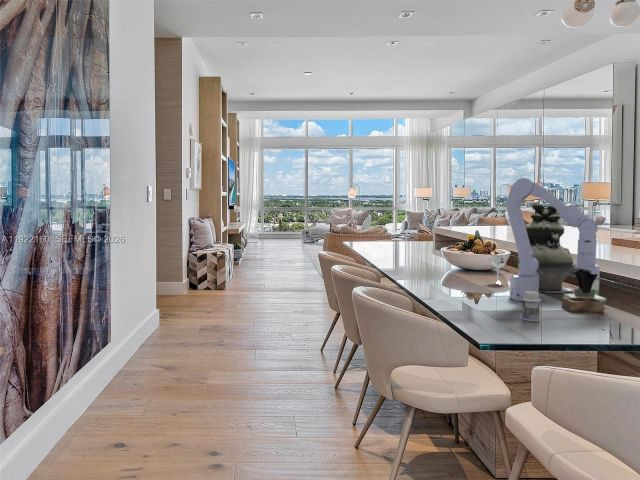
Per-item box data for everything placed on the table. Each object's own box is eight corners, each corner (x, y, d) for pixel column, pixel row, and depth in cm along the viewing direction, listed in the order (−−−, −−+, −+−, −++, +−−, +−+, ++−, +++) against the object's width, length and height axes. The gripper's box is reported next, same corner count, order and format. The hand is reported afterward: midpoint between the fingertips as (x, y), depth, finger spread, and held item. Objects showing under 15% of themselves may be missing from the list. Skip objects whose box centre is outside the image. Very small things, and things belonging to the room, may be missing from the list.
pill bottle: (525, 317, 153) (526, 290, 153) (541, 319, 151) (542, 292, 150) (520, 320, 150) (521, 292, 149) (536, 322, 147) (537, 294, 146)
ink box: (599, 297, 190) (600, 266, 189) (584, 296, 192) (585, 265, 191) (594, 293, 198) (595, 263, 197) (580, 292, 200) (581, 263, 199)
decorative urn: (528, 285, 221) (529, 205, 219) (579, 290, 206) (581, 204, 204) (507, 289, 205) (508, 204, 204) (561, 295, 191) (563, 203, 189)
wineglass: (486, 281, 225) (487, 255, 224) (499, 281, 227) (500, 255, 226) (496, 284, 219) (497, 256, 218) (509, 283, 221) (510, 256, 220)
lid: (573, 300, 171) (574, 290, 171) (563, 295, 179) (563, 286, 179) (606, 301, 170) (606, 291, 170) (594, 296, 179) (594, 287, 178)
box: (571, 312, 162) (571, 301, 162) (561, 307, 170) (561, 297, 169) (603, 312, 161) (604, 302, 161) (592, 307, 169) (592, 297, 169)
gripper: (609, 255, 166) (607, 296, 167) (589, 251, 181) (587, 288, 181) (586, 255, 167) (585, 295, 168) (568, 251, 181) (567, 288, 182)
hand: (584, 292), depth 175 cm, fingers closed on lid, 2 cm apart
